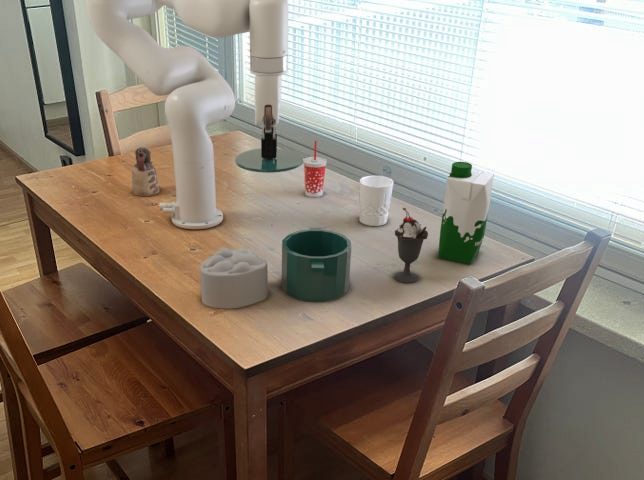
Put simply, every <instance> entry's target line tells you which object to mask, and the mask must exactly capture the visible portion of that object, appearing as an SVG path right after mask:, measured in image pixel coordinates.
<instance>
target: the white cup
mask: <svg viewBox="0 0 644 480" xmlns="http://www.w3.org/2000/svg"><path fill="white" fill-rule="evenodd" d="M393 189H394V180H393V179H392V178H390V177H387V176H385V175H384V176H383V175H367V176H363V177H361V178H360V179H359V193H358V195H359V197H358V198H359V199H358V210H359V219H358V220H359V222H360V223H361V224H363V225H365V226H369V227H380V226H383V225H385V224H387V222H388V217H389V212H390V209H391V201H392V196H393Z"/></svg>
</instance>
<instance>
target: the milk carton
mask: <svg viewBox="0 0 644 480" xmlns="http://www.w3.org/2000/svg"><path fill="white" fill-rule="evenodd" d="M494 175H495V174H494V173H491V172H484V171H481V170H474V169H473V164H472V163H470V162H466V161H455V162H453V163H452V164H451V170H450V172H449V176H447V178H446V183H445V195H444V200H443V209H442V215H441V221H440V222H441V223H440V230H439V241H438V255H437V258H438V259H442V260H446V261H452V262H457V263H461V264H465V265H471V264H472V263H473V261H474V260H475V258H476V257H477V256H478V254H479V252H480V249H481V246H482V244H483V240H484V237H485V234H486V233H485V232H486V228H487V221H488V216H489V211H490V204H491V198H492V192H493V185H494V184H493V183H494Z"/></svg>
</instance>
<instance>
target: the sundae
mask: <svg viewBox="0 0 644 480" xmlns="http://www.w3.org/2000/svg"><path fill="white" fill-rule="evenodd" d="M402 210H403V211H405V213H406V216H405V217H403V219H402V223H400V224H399V226H398V227H397V229H395V230H394V236H396V238H397V252H398V258H399V259H400V261H402V262H403V263H404V268H403V271H399V272H396V273H395V274H394V276H393V278H394V279H395V281H397V282H399V283H404V284H412V283H415V282H417V281H418V280H419V276H418V275H417V274H416V273H414V272H411V264H412V263H415V262H416V261H417V260H418V259H419V257H420V254H421V250H422V246H423V243H424V240H427V239H428V236H429V232H428V230H426V229H427V226H424V227H423V228H422V224H421V223H420V222H419V221H418V220H417V219H414V218H413V217H412V216H410V213H409V211H408V210H407V208H406V207H402Z"/></svg>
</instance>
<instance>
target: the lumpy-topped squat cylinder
mask: <svg viewBox="0 0 644 480" xmlns="http://www.w3.org/2000/svg"><path fill="white" fill-rule="evenodd" d="M268 274H269V273H268V261H267V260H266V259H265V258H263V257H261V256H259V255H258V254H257V253H256V252H255V251H254V250H252V249H248V248H244V247H243V248H237V249H232V250H231V249H230V248H228V247H222V248H219V249H218V250H217V251H216V252H214V254H213V255H210V256H209V257H208V258H207V259H205V260H204V261H202V263H201V265H200V267H199V275H200V292H201V293H200V294H201V302H202V304H203V305H205V306H207V307H209V308H214V309H225V310H226V309H239V308H243V307H247V306H250V305H251V306H252V305H254V304H257V303H259V302H262V301H264V300H266V298H268V294H269V290H268V289H269V288H268V287H269V285H268V284H269V283H268V282H269V279H268V277H269V276H268Z"/></svg>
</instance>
